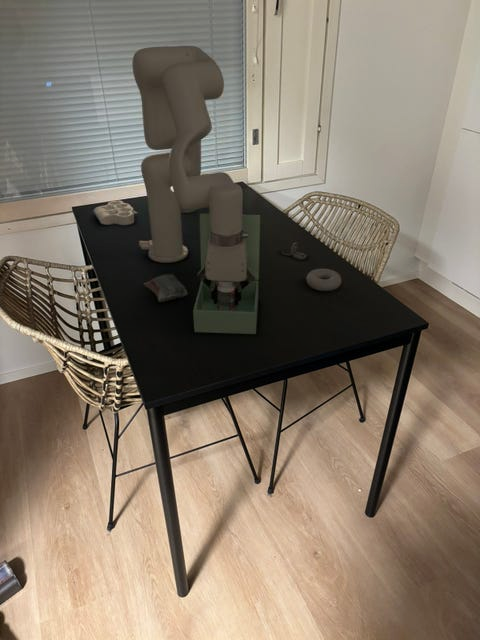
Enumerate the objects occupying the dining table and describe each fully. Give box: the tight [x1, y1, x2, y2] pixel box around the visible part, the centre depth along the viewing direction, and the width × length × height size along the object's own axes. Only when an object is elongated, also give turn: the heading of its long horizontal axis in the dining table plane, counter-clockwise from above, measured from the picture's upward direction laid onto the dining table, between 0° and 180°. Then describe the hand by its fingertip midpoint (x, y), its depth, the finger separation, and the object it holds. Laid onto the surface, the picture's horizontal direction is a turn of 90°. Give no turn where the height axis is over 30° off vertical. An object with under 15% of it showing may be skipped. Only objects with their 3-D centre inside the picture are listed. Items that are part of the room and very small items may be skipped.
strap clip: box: [280, 242, 308, 261], centre depth 157 cm, size 8×3×4 cm, turn 51°
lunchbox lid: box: [199, 213, 261, 281], centre depth 129 cm, size 17×15×5 cm
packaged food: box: [143, 273, 189, 303], centre depth 136 cm, size 9×12×5 cm
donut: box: [305, 268, 342, 292], centre depth 141 cm, size 10×4×10 cm
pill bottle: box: [217, 281, 236, 311], centre depth 125 cm, size 5×5×8 cm
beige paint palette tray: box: [92, 200, 139, 226], centre depth 185 cm, size 3×18×15 cm
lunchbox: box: [192, 280, 260, 335], centre depth 127 cm, size 16×15×6 cm
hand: (226, 301), depth 127 cm, fingers closed on pill bottle, 4 cm apart
